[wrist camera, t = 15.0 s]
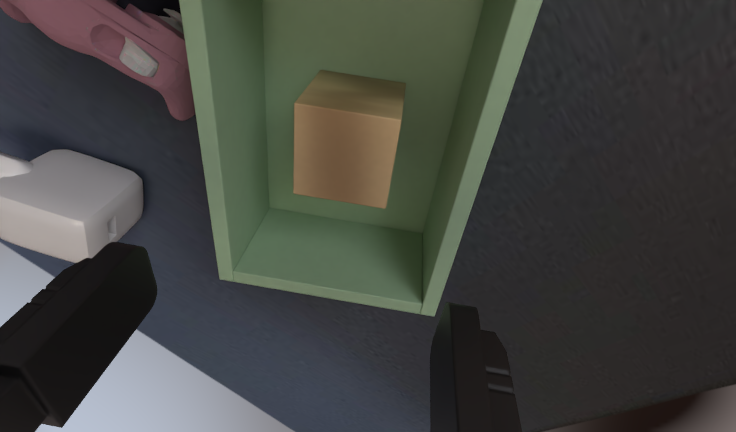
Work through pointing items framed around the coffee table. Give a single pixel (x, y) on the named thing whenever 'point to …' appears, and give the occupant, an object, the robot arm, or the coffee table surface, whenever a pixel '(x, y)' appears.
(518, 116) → the coffee table surface
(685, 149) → the coffee table surface
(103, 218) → the power adapter
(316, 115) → the block
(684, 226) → the coffee table surface
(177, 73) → the pink irregular tapered piece
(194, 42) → the bin
